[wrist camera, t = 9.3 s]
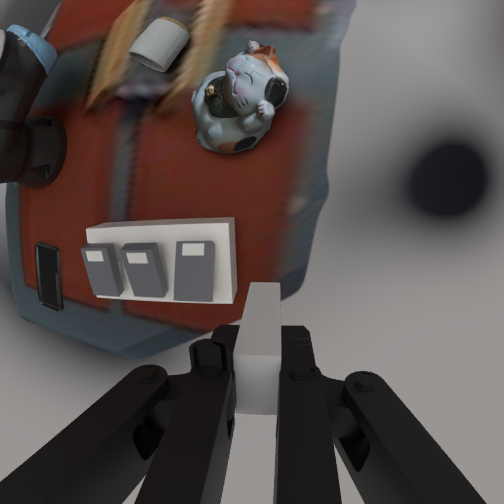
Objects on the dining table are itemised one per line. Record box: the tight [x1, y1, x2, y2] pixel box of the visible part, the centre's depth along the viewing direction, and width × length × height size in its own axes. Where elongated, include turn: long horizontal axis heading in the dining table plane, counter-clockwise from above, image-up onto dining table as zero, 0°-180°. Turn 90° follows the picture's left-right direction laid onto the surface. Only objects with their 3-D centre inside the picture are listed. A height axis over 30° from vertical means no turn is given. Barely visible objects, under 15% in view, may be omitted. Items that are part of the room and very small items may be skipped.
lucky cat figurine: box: [191, 41, 289, 154], centre depth 35 cm, size 15×12×14 cm
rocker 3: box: [173, 241, 215, 302], centre depth 39 cm, size 8×5×2 cm, turn 1°
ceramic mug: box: [128, 17, 190, 72], centre depth 35 cm, size 11×8×8 cm
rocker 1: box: [81, 243, 124, 297], centre depth 40 cm, size 8×5×2 cm, turn 2°
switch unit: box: [86, 217, 237, 304], centre depth 44 cm, size 24×12×8 cm, turn 92°
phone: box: [35, 242, 63, 312], centre depth 51 cm, size 8×1×15 cm
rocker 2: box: [120, 242, 168, 298], centre depth 39 cm, size 8×5×2 cm, turn 2°
